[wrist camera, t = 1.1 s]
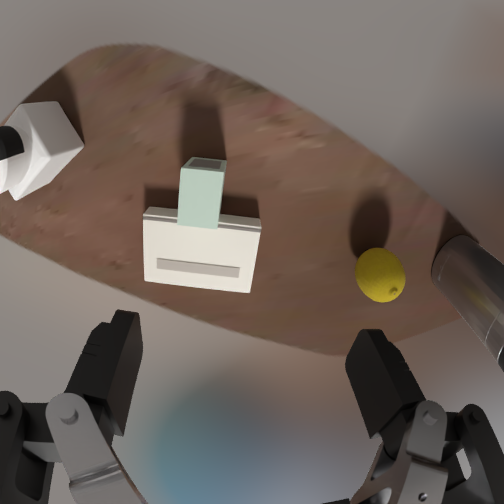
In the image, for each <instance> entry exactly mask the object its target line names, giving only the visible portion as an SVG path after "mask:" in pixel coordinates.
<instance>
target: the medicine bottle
mask: <svg viewBox="0 0 504 504" xmlns="http://www.w3.org/2000/svg"><path fill="white" fill-rule="evenodd" d="M83 148H84V143H83V142H82V140H81V139H80V137H79V136H78V134H77V132H76V131H75V129H74V128H73V126H72V124H71V123H70V121H69V119H68V118H67V116H66V114H65V113H64V111H63V109H62V108H61V106H60V104H59V103H58V102H57V101H52V102H37V103H26V104H20V105H19V106H18V107H17V108H16V110H15V111H14V113H13V114H12V115H11V117H10V118H9V119H8V121H7V122H6V124H5V125H4V126H1V127H0V194H1V193H3V192H4V191H6V190H9V192H10V193H11V195H12V197H13V198H14V200H19V199H20V198H22V197H24V196H26V195H28V194H29V193H31V192H33V191H35V190H37V189H38V188H40V187H42V186H44V185H46V184H48V183H50V182H51V181H52V180H53V178H54V177H55V176H56V175H57V174H58V173H59V172H60V171H61V170H62V169H63V168H64V167H65V166H66V165H67V164H68V163H69V162H70V160H71V159H72V158H73V157H74V156H75V155H76V154H78V153H79V152H80V151H81V150H82V149H83Z"/></svg>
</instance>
